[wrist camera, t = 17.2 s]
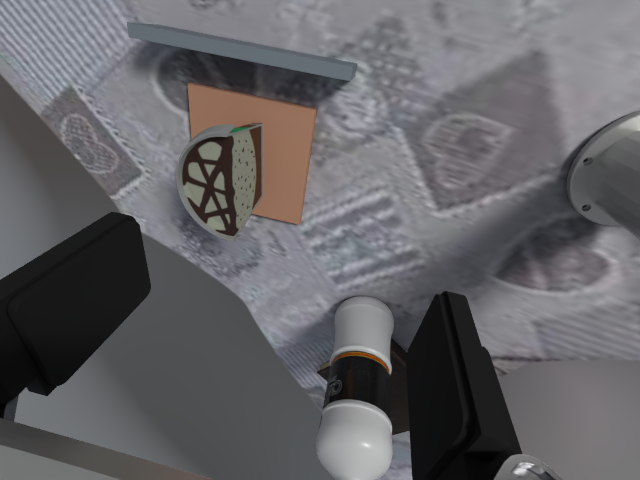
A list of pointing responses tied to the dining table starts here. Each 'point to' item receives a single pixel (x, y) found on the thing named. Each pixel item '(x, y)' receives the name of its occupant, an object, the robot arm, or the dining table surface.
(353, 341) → the vodka
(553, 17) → the dining table surface
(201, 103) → the mat
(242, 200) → the food container
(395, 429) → the hardcover book
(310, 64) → the acrylic wall
